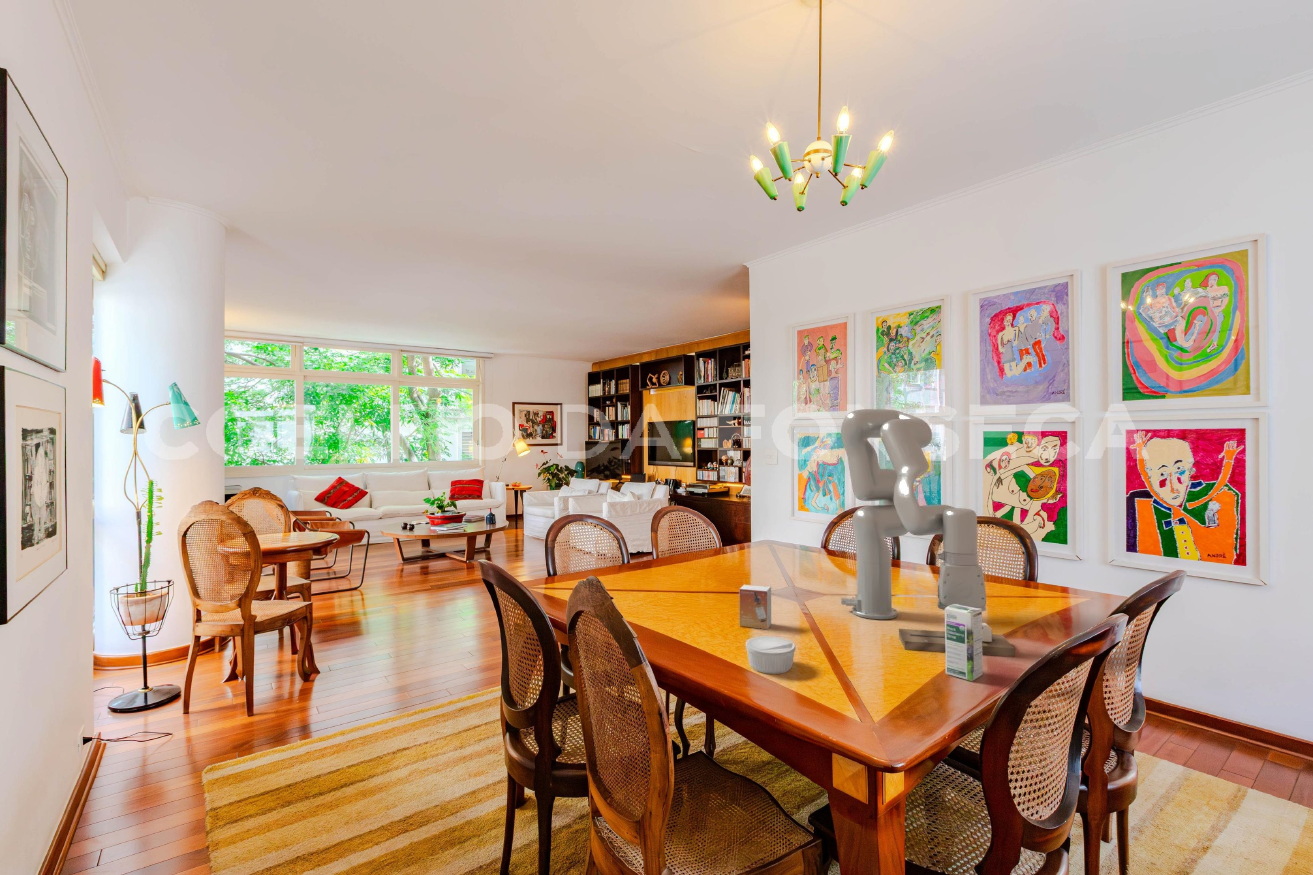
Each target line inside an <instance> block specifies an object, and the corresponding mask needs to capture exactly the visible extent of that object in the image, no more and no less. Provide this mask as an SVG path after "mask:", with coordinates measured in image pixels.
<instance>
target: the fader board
mask: <svg viewBox="0 0 1313 875" xmlns="http://www.w3.org/2000/svg"><path fill="white" fill-rule="evenodd" d="M898 638H899V639H900V642H901V645H902V646H903V648H904V650H905V651H906V650H907V651H908V650H909V651H924V652H935V653H936V652H938V653H946V646H945V630H944V631H943V630H930V629H928V630H927V629H914V628H913V629H912V628H911V629H909V628H898ZM982 656H997V657H1013V658H1014V657H1016V648H1015V646H1013V645H1012V644H1011V643H1010V641H1008V639H1007V638H1006V637H1005V636H1004V635H1002V634H995V633H992V642H987V641H982Z"/></svg>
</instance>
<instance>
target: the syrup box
mask: <svg viewBox="0 0 1313 875" xmlns="http://www.w3.org/2000/svg"><path fill="white" fill-rule="evenodd" d="M982 615H983V611H982V610H981V609H979V608H973V607H968V606H962V605H958V604H953V605H950V606H948V607H946V608H945V610H944V631H945V646H946V652H945V674H946V675H947V676H953V677H956V678H959V679H962V680H965V681H969V682H973V681H975V680H976V679H978V678H980V677H981V676H983V671H984V670H983V655H982V623H983V621H982V620H983V616H982Z"/></svg>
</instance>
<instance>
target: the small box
mask: <svg viewBox="0 0 1313 875" xmlns="http://www.w3.org/2000/svg"><path fill="white" fill-rule="evenodd" d="M738 596H739V597H738V599H739V603H738V604H739V608H738V610H739V615H738V616H739V617H738V618H739V619H738V620H739V622H738V623H739V624H738V625H739V627H746V628H754V629H760V628H761V630H762V629H763V630H768V629H769V628H770V626H771V625H772V586H762V585H751V584H743V585H742V586H741V587H740V588H739V591H738Z"/></svg>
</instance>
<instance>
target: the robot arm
mask: <svg viewBox="0 0 1313 875" xmlns="http://www.w3.org/2000/svg"><path fill="white" fill-rule="evenodd" d="M840 436H841V438H840V439H841V441H842V444H843V445H842V446H843V448H844V451H845V453H846V457H847V463H848V470H849V476H850V481H851V488H852V492H853V495H854V497H855V498H856V499H857V500H858V501H862V502H876V501H877V502H879V501H880V502H881V501H882V504H877V505H873V504H872V505H866V506H862V507H860V508H858V509H857V510H855V512H854V513H853V515H852V519H851V520H852V521H851V522H852V529H853V534H854V538H855V547H856V549H855V550H856V552H855V553H856V556H855V557H856V590H857V591H856V594H855V597H852V598H848V597H840V604H841V605H845V606H846V607H851V612H852V614H854V615H855V616H857V617H860V618H864V619H871V620H891V619H896V617H898V616H899V615H898V610H897V609H896V608H893V607H892V606H893V604H892V603H893V602H892V599H893V597H892V593H893V592H892V555H891V550H890V548H889V546H888V544H887V542H886V540H885V538H886V539H887V538H894V537H895V538H896V537H900V536H901V537H902V536H905V535H907V534H908V533H909V534H912V535H914V536H917V537H919V536H921V537H922V536H932V535H942V544H943V545H942V548H943V550H942V552H940V553H937V554H936V557H937V560H942V562H941V563H940V564H939V570H938V580H937V581H938V582H937V598H938V601H937V605H936V606H937V608H938V609H939V610H942V611H945V608H946V607H948V606H950V605H953V604H958V605H962V606H968V607H973V608H979V609H981V610H982V612H986V611H987V608H986V605H987V593H986V583H985V576H984V571H983V567H982V565H980V564H979V563H978V562H979V560H978V558H979V557H978V556H979V553H978V517H977V512H976V511H974V509H972V508H963V507H954V506H951V505H948V504H929V505H920V504H919V502H918V500H917V498H916V495H915V490H914V484H915V481H916V479H918V478H920V477H922V476H923V475H926V473H927V472H928V470H929V468H930V464H929V462H928V459H927V458H926V455H925V453H924V451H923V449H924V448H926V447H928V446H929V445H930V443H931V442H932V439H933V432H932V429H931V426H930V425H929V424H928V422H926V421H925V420H923V419H922V418H919V417H916V416H914V415H910V414H908V413H905V412H902V411H899V410H896V409H878V408H877V409H876V408H874V409H873V408H872V409H871V408H864V409H863V408H862V409H856V410H853V411H851V412H848V413H847V415H845V417H844V419H843V420H842V423H841V427H840ZM871 438H872V439H873V438H874V439H880V440H881V442H882V443H883V447H884V449H885V451H886V454H887V455H888V458H889V459H890V463H891V465H892V467H893V468H881V467H880V463H879V459H878V458H879V457H878V453H877V451H876V449H875V448H874V446H873V445H872V444H871V442H870V441H869V440H868V439H871Z"/></svg>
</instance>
